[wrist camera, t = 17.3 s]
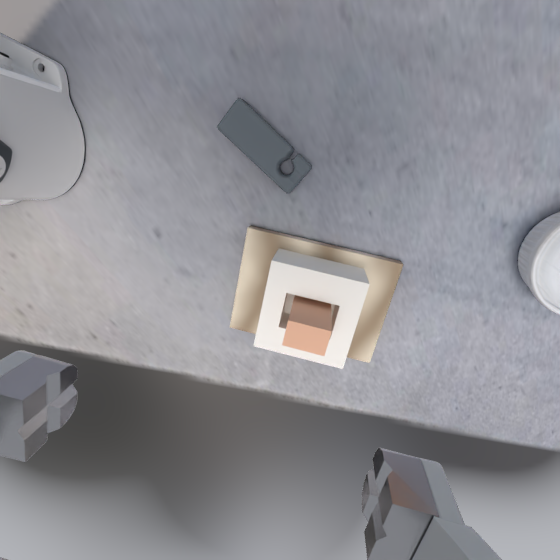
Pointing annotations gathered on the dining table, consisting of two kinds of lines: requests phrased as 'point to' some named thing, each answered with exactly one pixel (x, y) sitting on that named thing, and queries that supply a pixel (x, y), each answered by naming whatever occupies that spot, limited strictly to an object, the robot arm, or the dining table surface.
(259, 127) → the bracket
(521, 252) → the ramekin
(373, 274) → the base board
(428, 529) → the robot arm
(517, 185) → the dining table surface
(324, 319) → the block
